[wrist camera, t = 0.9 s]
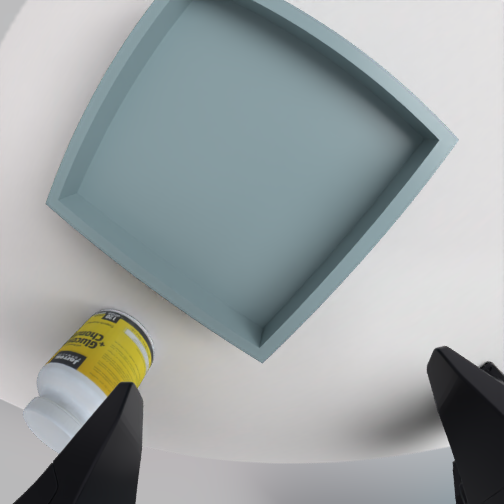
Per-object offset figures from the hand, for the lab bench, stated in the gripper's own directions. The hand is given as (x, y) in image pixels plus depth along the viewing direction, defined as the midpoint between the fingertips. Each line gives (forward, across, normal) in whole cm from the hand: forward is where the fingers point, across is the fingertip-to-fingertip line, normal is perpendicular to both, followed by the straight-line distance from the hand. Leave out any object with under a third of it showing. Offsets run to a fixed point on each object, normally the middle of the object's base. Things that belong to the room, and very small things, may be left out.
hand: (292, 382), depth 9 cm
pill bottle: (+14, +12, +11) cm, 21 cm away
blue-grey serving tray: (+14, +1, -3) cm, 14 cm away
